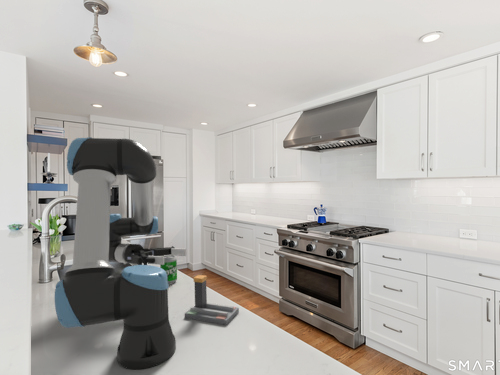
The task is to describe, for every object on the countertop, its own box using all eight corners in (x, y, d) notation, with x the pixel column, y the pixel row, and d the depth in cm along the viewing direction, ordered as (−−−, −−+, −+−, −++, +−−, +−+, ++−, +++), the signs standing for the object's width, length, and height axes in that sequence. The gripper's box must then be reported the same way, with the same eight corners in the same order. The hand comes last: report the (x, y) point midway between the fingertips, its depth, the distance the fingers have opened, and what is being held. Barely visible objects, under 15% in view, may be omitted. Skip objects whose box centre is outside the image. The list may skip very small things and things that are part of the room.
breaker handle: (202, 310, 101) (202, 278, 101) (194, 309, 103) (193, 277, 102) (207, 306, 105) (206, 275, 104) (199, 305, 106) (198, 274, 106)
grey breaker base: (226, 324, 95) (226, 316, 94) (184, 317, 100) (184, 309, 100) (238, 312, 104) (238, 304, 104) (199, 306, 110) (199, 298, 110)
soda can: (157, 283, 136) (156, 257, 136) (168, 278, 142) (168, 254, 142) (169, 285, 132) (168, 259, 132) (180, 280, 139) (179, 255, 139)
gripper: (151, 256, 127) (193, 258, 119) (104, 271, 104) (153, 276, 96) (151, 238, 127) (193, 240, 119) (104, 250, 104) (152, 253, 96)
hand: (175, 256), depth 108 cm, fingers open, 13 cm apart
